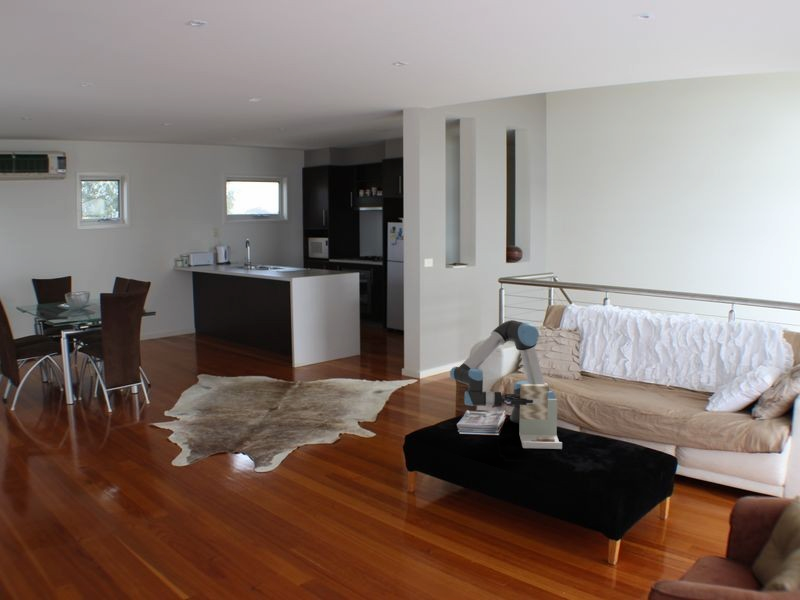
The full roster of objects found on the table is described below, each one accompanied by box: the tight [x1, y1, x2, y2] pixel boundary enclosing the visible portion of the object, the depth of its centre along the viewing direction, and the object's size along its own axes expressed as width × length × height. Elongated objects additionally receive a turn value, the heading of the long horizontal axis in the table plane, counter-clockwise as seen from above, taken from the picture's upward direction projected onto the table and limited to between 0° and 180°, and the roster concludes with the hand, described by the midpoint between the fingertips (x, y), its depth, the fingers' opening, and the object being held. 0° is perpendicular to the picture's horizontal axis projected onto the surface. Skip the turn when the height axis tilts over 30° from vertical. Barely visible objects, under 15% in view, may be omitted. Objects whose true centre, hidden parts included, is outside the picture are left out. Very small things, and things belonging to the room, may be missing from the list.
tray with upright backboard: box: [518, 398, 563, 450], centre depth 380 cm, size 20×22×21 cm
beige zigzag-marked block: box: [520, 383, 549, 420], centre depth 376 cm, size 14×4×18 cm, turn 86°
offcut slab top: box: [536, 437, 555, 442], centre depth 374 cm, size 9×3×2 cm, turn 86°
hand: (538, 399), depth 376 cm, fingers closed on beige zigzag-marked block, 4 cm apart
